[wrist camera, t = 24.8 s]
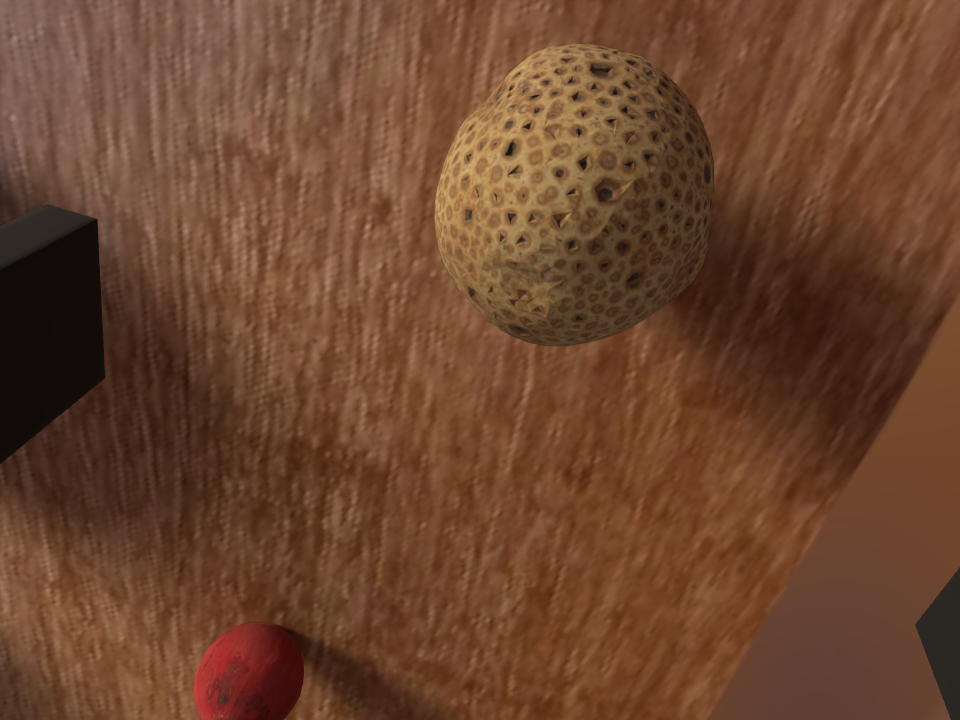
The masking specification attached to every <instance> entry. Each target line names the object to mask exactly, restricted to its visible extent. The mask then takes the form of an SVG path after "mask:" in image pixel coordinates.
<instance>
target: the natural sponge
mask: <svg viewBox="0 0 960 720" xmlns="http://www.w3.org/2000/svg"><path fill="white" fill-rule="evenodd" d="M713 194H714V162H713V157H712V152H711V147H710V142H709V139H708V137H707V134H706V131H705V128H704V126H703V123H702V120H701V118H700V116H699V115H698V113H697V111H696V109H695V108H694V106H693V105H692V103H691V102H690V100H689V99H688V98H687V97H686V95H685V94H684V93H683V92H682V90H681V89H680V88H679V87H678V86H677V85H676V84H675V83H674V82H673V81H672V80H671V79H670V78H669V77H668V76H667V75H666V74H665V73H663V72H662V71H661V70H660V69H658V68H657V67H655V66H654V65H652V64H650V63H649V62H648V61H646V60H645V59H644V58H642V57H641V56H637V55H634V54H630V53H627V52H624V51H620V50H616V49H612V48H607V47H603V46H598V45H590V44H568V45H559V46H550V47H547V48H544V49H542V50H540V51H538V52H536V53H534V54H532V55H530V56H529V57H528V58H527V59H525V60H524V61H523V62H522V63H521V64H520V65H518V66H517V67H516V68H515V69H514V70H513V71H511V72H510V73H509V74H508V76H507V77H506V78H505V79H504V81H503V82H502V83H501V84H500V85H499V86H498V88H497V89H496V90H495V91H494V92H493V93H492V95H491V96H490V97H489V98H488V99H487V100H486V101H485V102H484V103H483V104H482V105H481V106H480V107H479V108H478V109H477V110H476V111H475V112H474V113H473V114H472V115H470V116H469V117H468V118H467V119H466V121H465V122H464V123H463V124H462V126H461V127H460V129H459V131H458V133H457V134H456V136H455V139H454V141H453V144H452V146H451V148H450V150H449V152H448V154H447V157H446V160H445V163H444V166H443V170H442V173H441V176H440V180H439V183H438V188H437V193H436V200H435V230H436V235H437V240H438V245H439V250H440V253H441V256H442V259H443V263H444V265H445V267H446V269H447V271H448V272H449V274H450V276H451V277H452V279H453V280H454V282H455V284H456V285H457V286H458V288H459V289H460V290H461V292H462V293H463V294H464V296H465V297H466V298H467V299H468V300H469V302H470V303H471V304H472V305H473V306H474V307H475V308H476V309H477V310H478V311H479V312H480V313H481V314H482V315H483V316H485V317H486V318H487V319H488V320H489V321H490V322H491V323H492V324H494V325H495V326H496V327H498V328H499V329H500V330H502V331H504V332H506V333H507V334H509V335H511V336H513V337H515V338H518V339H521V340H523V341H526V342H529V343H533V344H538V345H543V346H570V345H576V344H583V343H587V342H592V341H597V340H601V339H603V338H606V337H609V336H611V335H614V334H617V333H619V332H621V331H624V330H626V329H628V328H630V327H632V326H634V325H636V324H637V323H639V322H641V321H643V320H644V319H646V318H647V317H649V316H650V315H652V314H653V313H655V312H656V311H658V310H659V309H660V308H662V307H663V306H664V305H665V304H667V303H668V302H669V301H671V300H672V299H673V298H675V297H676V296H677V295H679V294H680V293H681V292H682V291H683V290H684V289H686V288H687V287H688V286H689V285H690V284H691V283H692V282H693V280H694V279H695V278H696V276H697V274H698V272H699V271H700V269H701V267H702V265H703V263H704V260H705V257H706V254H707V251H708V243H709V233H710V225H711V216H712V203H713Z"/></svg>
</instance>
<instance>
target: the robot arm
mask: <svg viewBox="0 0 960 720" xmlns="http://www.w3.org/2000/svg"><path fill="white" fill-rule="evenodd" d="M104 378H105V366H104V346H103V325H102V305H101V284H100V264H99V243H98V223H97V219H96V218H92V217H89V216H85V215H82V214H78V213H75V212H72V211H68V210H65V209H61V208H58V207H55V206H51V205H48V204H47V205H45V206H43V207H41V208H38V209H36V210H34V211H32V212H30V213H27V214H25V215H23V216H21V217H19V218H16V219H14V220H12V221H10V222H8V223H5V224H3V225H1V226H0V464H1V463H2V462H3V461H4V460H6V459H7V458H8V457H9V456H11V455H12V454H13V453H14V452H15V451H17V450H18V449H19V448H20V447H21V446H23V445H24V444H25V443H26V442H28V441H29V440H30V439H31V438H32V437H34V436H35V435H36V434H37V433H39V432H40V431H41V430H42V429H43V428H45V427H46V426H47V425H48V424H50V423H51V422H52V421H53V420H54V419H56V418H57V417H58V416H59V415H60V414H62V413H63V412H64V411H65V410H67V409H68V408H69V407H70V406H71V405H73V404H74V403H75V402H76V401H78V400H79V399H80V398H81V397H82V396H84V395H85V394H86V393H87V392H89V391H90V390H91V389H92V388H93V387H95V386H96V385H97V384H98V383H99V382H101V381H102V380H103V379H104ZM915 625H916V628H917V631H918V633H919V636H920V639H921V641H922V644H923V647H924V649H925V652H926V655H927V657H928V660H929V663H930V665H931V668H932V671H933V673H934V676H935V679H936V681H937V684H938V686H939V689H940V692H941V694H942V697H943V700H944V702H945V705H946V708H947V710H948V713H949V716H950V718H951V720H960V568H959V569H958V571H957V572H956V573H955V574H954V576H953V577H952V578H951V579H950V581H949V582H948V583H947V585H946V586H945V587H944V589H943V590H942V591H941V592H940V594H939V595H938V596H937V597H936V599H935V600H934V601H933V603H932V604H931V605H930V606H929V608H928V609H927V611H925V613H924V614H923V615H922V617H921V618H920V619H919V620H918V622H917V623H916V624H915Z"/></svg>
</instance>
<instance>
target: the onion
mask: <svg viewBox="0 0 960 720" xmlns="http://www.w3.org/2000/svg"><path fill="white" fill-rule="evenodd" d="M303 678H304V665H303V658H302V656H301V653H300V651H299V648H298V646H297V643H296V641H295V640H294V639H293V638H292V637H291V635H290V634H289V633H288V632H287V631H286V630H285V629H283V628H282V627H281V626H279V625H274V624H270V623H266V622H256V623H246V624H241V625H239V626H237V627H235V628H233V629H231V630H229V631H227V632H226V633H224V634H222V635H221V636H220V637H218V638H217V639H216V640H215V641H214V642H213V643H212V644H211V645H210V646H209V648H208V650H207V652H206V653H205V655H204V657H203V659H202V661H201V663H200V665H199V666H198V669H197V672H196V675H195V678H194V688H193V690H194V700H195V705H196V710H197V713H198V716H199V718H200V720H284V719H285V718H286V716H287V715H288V714H289V713H290V711H291V710H292V709H293V707H294V705H295V704H296V702H297V700H298V699H299V697H300V694H301V689H302V685H303Z"/></svg>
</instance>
